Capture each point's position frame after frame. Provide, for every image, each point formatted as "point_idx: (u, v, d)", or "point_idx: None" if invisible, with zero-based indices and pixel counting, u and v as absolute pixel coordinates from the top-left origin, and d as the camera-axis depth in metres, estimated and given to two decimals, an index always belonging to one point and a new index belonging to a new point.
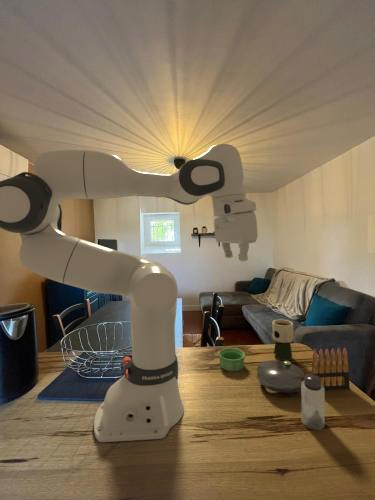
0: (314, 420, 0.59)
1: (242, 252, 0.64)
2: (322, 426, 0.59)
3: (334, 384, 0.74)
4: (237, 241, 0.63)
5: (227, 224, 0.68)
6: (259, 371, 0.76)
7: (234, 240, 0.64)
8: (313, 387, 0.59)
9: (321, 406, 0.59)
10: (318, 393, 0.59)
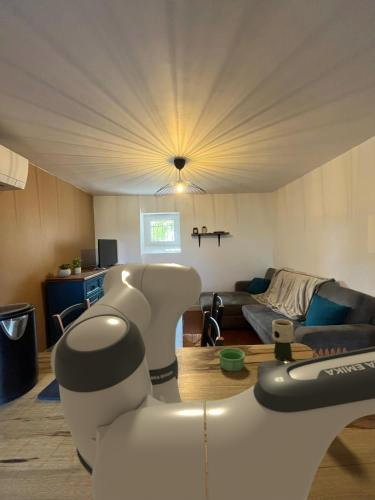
0: None
1: None
2: None
3: None
4: None
5: None
6: (259, 371, 0.76)
7: None
8: None
9: None
10: None
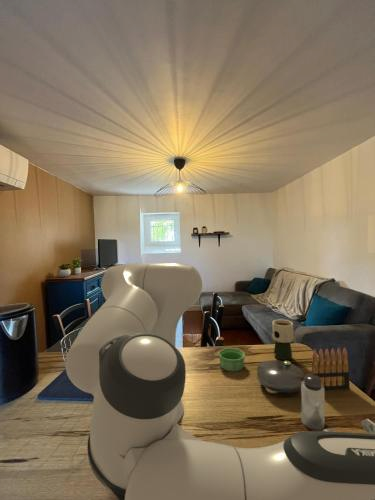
0: (314, 420, 0.59)
1: None
2: (322, 426, 0.59)
3: (334, 384, 0.74)
4: None
5: None
6: (259, 371, 0.76)
7: None
8: (313, 387, 0.59)
9: (321, 406, 0.59)
10: (318, 393, 0.59)
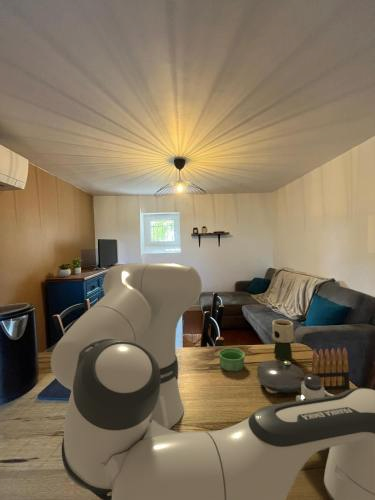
0: None
1: None
2: None
3: (334, 384, 0.74)
4: None
5: None
6: (259, 371, 0.76)
7: None
8: (313, 387, 0.59)
9: None
10: (318, 393, 0.59)
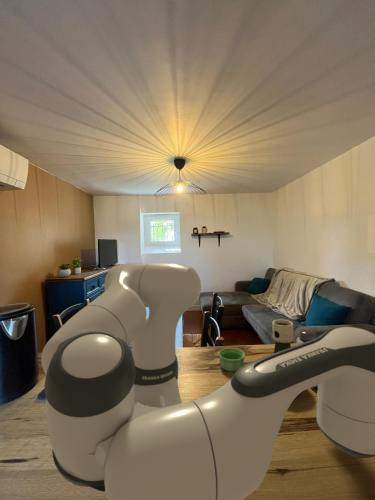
0: None
1: None
2: None
3: None
4: None
5: None
6: None
7: None
8: (308, 340, 0.61)
9: None
10: None
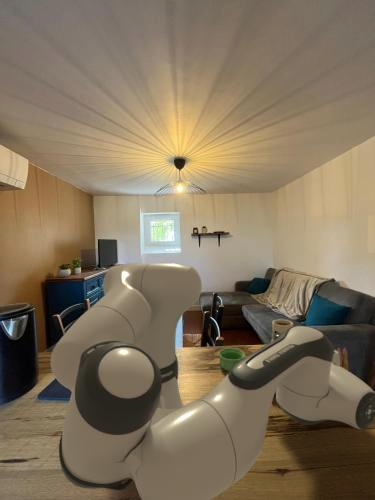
0: None
1: None
2: None
3: None
4: None
5: None
6: None
7: None
8: None
9: None
10: None
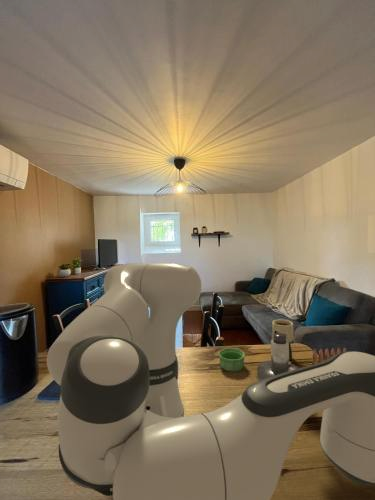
0: (280, 368, 0.74)
1: None
2: None
3: None
4: None
5: None
6: (259, 371, 0.76)
7: None
8: (279, 341, 0.74)
9: (286, 356, 0.73)
10: (283, 346, 0.73)
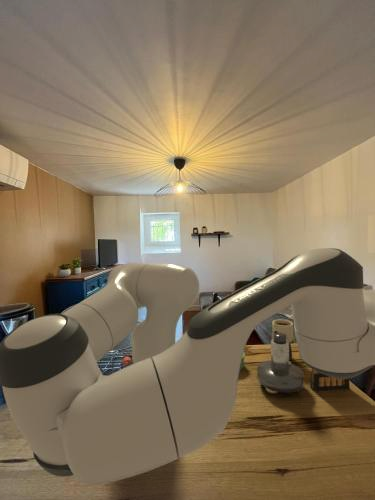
0: (280, 368, 0.74)
1: None
2: (286, 373, 0.74)
3: (334, 384, 0.74)
4: None
5: None
6: (259, 371, 0.76)
7: None
8: (279, 341, 0.74)
9: (286, 356, 0.73)
10: (283, 346, 0.73)
